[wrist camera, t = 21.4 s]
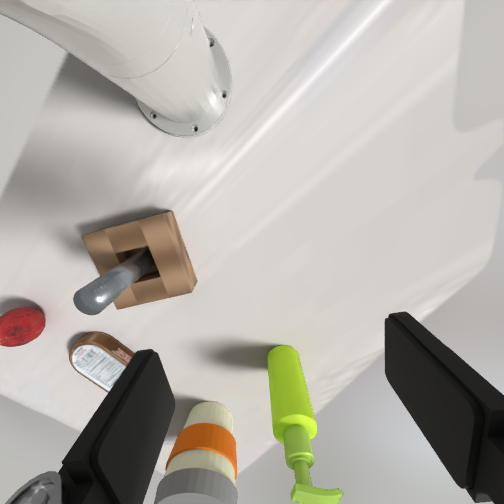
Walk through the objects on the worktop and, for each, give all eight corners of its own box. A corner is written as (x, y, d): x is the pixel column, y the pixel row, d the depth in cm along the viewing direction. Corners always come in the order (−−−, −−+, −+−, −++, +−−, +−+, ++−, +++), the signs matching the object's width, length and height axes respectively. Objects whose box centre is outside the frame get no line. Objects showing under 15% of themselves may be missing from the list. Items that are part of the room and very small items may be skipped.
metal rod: (135, 250, 36) (68, 292, 23) (153, 246, 36) (96, 285, 23) (142, 268, 37) (81, 317, 24) (160, 264, 37) (108, 311, 24)
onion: (48, 295, 40) (-1, 324, 32) (63, 324, 41) (20, 357, 34) (17, 301, 40) (-39, 331, 32) (33, 329, 42) (-16, 364, 34)
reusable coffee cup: (231, 444, 51) (222, 549, 36) (174, 431, 49) (142, 534, 35) (249, 403, 47) (247, 502, 33) (188, 387, 46) (158, 483, 31)
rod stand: (99, 229, 36) (81, 236, 32) (172, 210, 35) (162, 214, 31) (130, 296, 40) (117, 309, 36) (197, 281, 39) (191, 292, 35)
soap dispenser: (299, 373, 45) (334, 520, 25) (264, 367, 44) (272, 512, 25) (308, 349, 43) (352, 487, 24) (271, 342, 42) (286, 477, 23)
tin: (94, 323, 41) (71, 348, 44) (81, 335, 38) (57, 361, 41) (161, 371, 44) (136, 392, 47) (154, 386, 42) (127, 407, 44)
